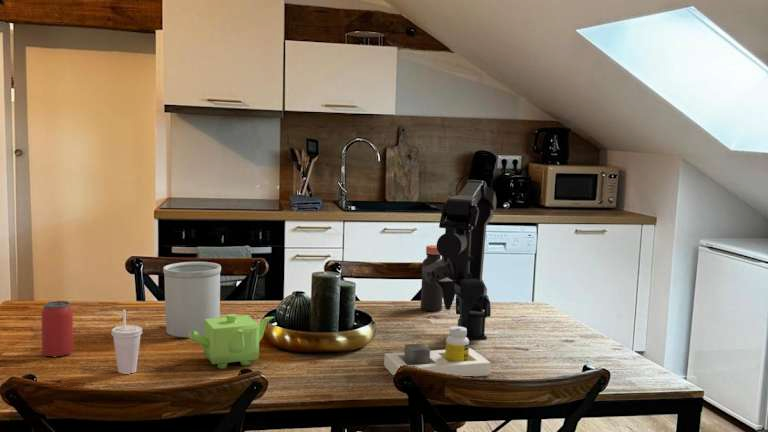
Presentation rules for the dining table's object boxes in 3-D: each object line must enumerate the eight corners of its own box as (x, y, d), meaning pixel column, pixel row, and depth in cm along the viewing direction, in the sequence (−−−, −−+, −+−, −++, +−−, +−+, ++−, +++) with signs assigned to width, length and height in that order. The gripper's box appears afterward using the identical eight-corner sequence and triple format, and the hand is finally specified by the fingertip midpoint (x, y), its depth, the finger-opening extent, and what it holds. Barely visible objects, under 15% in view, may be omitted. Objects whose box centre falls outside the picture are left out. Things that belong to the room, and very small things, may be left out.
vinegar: (435, 313, 214) (438, 249, 211) (416, 309, 217) (419, 246, 215) (445, 308, 219) (448, 246, 217) (426, 305, 223) (429, 244, 221)
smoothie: (116, 366, 156) (116, 305, 154) (145, 367, 156) (145, 306, 154) (107, 376, 149) (107, 313, 148) (138, 377, 150) (138, 313, 148)
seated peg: (422, 368, 162) (423, 343, 162) (428, 374, 158) (430, 349, 158) (403, 369, 161) (404, 344, 160) (410, 376, 157) (411, 350, 156)
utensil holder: (151, 333, 181) (150, 267, 179) (187, 320, 195) (187, 259, 193) (197, 341, 176) (198, 274, 174) (231, 327, 190) (232, 264, 188)
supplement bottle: (466, 374, 160) (468, 332, 158) (443, 371, 161) (445, 330, 160) (468, 366, 165) (470, 326, 164) (445, 364, 166) (447, 324, 165)
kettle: (273, 356, 167) (274, 311, 165) (246, 375, 153) (247, 326, 152) (218, 349, 171) (218, 304, 169) (186, 367, 157) (186, 318, 156)
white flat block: (469, 360, 170) (470, 348, 169) (489, 375, 159) (490, 362, 159) (384, 365, 163) (384, 353, 163) (399, 382, 153) (399, 369, 152)
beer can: (79, 351, 165) (78, 302, 164) (58, 359, 159) (57, 308, 157) (57, 348, 167) (56, 299, 166) (35, 355, 161) (34, 305, 159)
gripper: (412, 244, 171) (410, 306, 173) (442, 259, 154) (439, 328, 156) (454, 243, 175) (451, 303, 177) (487, 258, 157) (484, 324, 159)
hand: (455, 314), depth 167 cm, fingers open, 9 cm apart
